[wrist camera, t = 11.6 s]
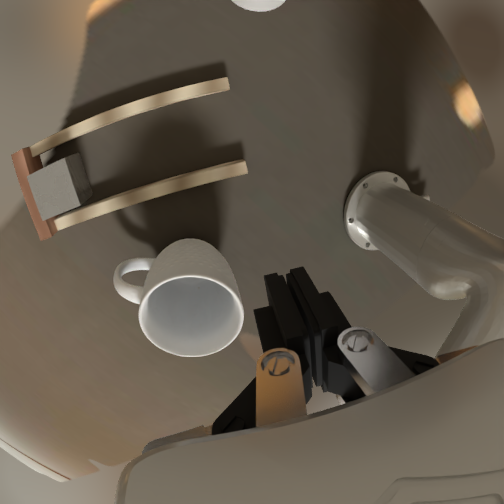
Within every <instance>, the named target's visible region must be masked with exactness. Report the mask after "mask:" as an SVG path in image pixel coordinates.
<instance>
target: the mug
mask: <svg viewBox="0 0 504 504" xmlns="http://www.w3.org/2000/svg"><path fill="white" fill-rule="evenodd" d="M134 270H149V272H148V274H147V277H146V280H145V282H144V287H142V286H135V285H130V284H128V283H126V282H124V281H123V280H122V278H121V277H122V275H123V274H125V273H127V272H130V271H134ZM113 281H114V286H115V289H116V290H117V292H118V293H119V294H120V295H121V296H122V297H124V298H125V299H127V300H129V301H131V302H134V303H137V304H140V306H139V322H140V326H141V328H142V330H143V332H144V334H145V335H146V337H147V338H148V339H149V340H150V341H151V342H152V343H153V344H154V345H156V346H157V347H159V348H160V349H162V350H164V351H166V352H168V353H171V354H174V355H178V356H186V357H197V356H205V355H209V354H213V353H215V352H218V351H220V350H222V349H223V348H225V347H226V346H228V345H229V344H230V343H231V342H232V341H233V340H234V339H235V338H236V337H237V335H238V334H239V332H240V330H241V327H242V325H243V320H244V311H243V305H242V302H241V296H240V294H239V289H238V287H237V282H236V281H235V277H234V275H233V272H232V270H231V268H230V266H229V264H228V263H227V261H226V259H225V258H224V257H223V255H222V254H220V252H219V251H218V250H216V248H215V247H213V246H212V245H211V244H209V243H207V242H205V241H202V240H200V239H194V238H192V239H188V238H186V239H181V240H178V241H176V242H174V243H172V244H170V245H169V246H167V247H166V248H165V249H164V250H162V251H161V253H160V254H159V255H158V256H157V258H133V259H129V260H126V261H123V262H122V263H120V264H119V265H118V266H117V268H116V270H115V272H114V278H113Z"/></svg>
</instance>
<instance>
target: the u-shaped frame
mask: <svg viewBox="0 0 504 504" xmlns="http://www.w3.org/2000/svg"><path fill="white" fill-rule="evenodd" d="M229 89H230V87H229V83H228V78H227V77H225V78H220V79H215V80H210V81H206V82H202V83H197V84H193V85H189V86H185V87H181V88H177V89H174V90H170V91H166V92H163V93H160V94H156V95H153V96H150V97H146V98H143V99H140V100H137V101H134V102H131V103H128V104H125V105H123V106H120V107H117V108H114V109H112V110H109V111H106V112H104V113H101V114H99V115H96V116H94V117H91V118H89V119H86V120H84V121H82V122H79V123H77V124H75V125H73V126H70V127H68V128H66V129H64V130H62V131H60V132H58V133H55V134H53V135H51V136H49V137H47V138H45V139H43V140H41V141H40V142H38V143H36V144H34V145H32V146H30V147H27V148H23V149H21V150H19V151H18V152H16V153H14V154H12V155H11V156H12V160H13V163H14V167H15V170H16V173H17V177H18V180H19V183H20V186H21V189H22V192H23V195H24V198H25V201H26V204H27V207H28V209H29V212H30V215H31V217H32V220H33V222H34V225H35V227H36V230H37V232H38V235H39V237H40V239H41V241H42V240H44V239H47V238H50V237H52V236H53V235H54V234H55V233H56V232H57V231H58V230H61V229H64V228H66V227H69V226H72V225H74V224H77V223H80V222H83V221H85V220H88V219H91V218H94V217H97V216H100V215H103V214H106V213H109V212H112V211H115V210H118V209H121V208H124V207H127V206H130V205H133V204H136V203H140V202H143V201H146V200H149V199H153V198H156V197H159V196H163V195H166V194H170V193H173V192H177V191H180V190H184V189H188V188H191V187H195V186H199V185H202V184H206V183H210V182H214V181H218V180H222V179H226V178H230V177H234V176H238V175H242V174H247V173H248V171H247V167H246V162H245V161H244V160H243V159H241V160H237V161H232V162H228V163H224V164H220V165H216V166H212V167H208V168H204V169H200V170H196V171H193V172H189V173H185V174H182V175H178V176H175V177H171V178H168V179H164V180H161V181H158V182H154V183H151V184H148V185H144V186H141V187H138V188H135V189H132V190H129V191H126V192H123V193H120V194H117V195H114V196H111V197H108V198H105V199H102V200H99V201H97V202H94V203H91V204H88V205H85V206H83V207H80V208H77V209H75V210H72V211H70V212H67V213H64V214H62V215H59V214H58V215H56V216H54V217H51V218H49V219H47V220H44V221H42V218H41V216H40V213H39V210H38V208H37V205H36V202H35V200H34V197H33V194H32V191H31V188H30V185H29V182H28V179H27V176H28V175H30V174H32V173H34V172H36V171H38V170H40V169H42V168H43V165H42V162H41V159H40V154H42V153H44V152H46V151H48V150H50V149H52V148H55V147H57V146H59V145H61V144H63V143H65V142H67V141H70V140H72V139H74V138H77V137H79V136H81V135H84V134H86V133H88V132H91V131H93V130H96V129H98V128H101V127H103V126H106V125H109V124H111V123H114V122H117V121H120V120H122V119H125V118H128V117H131V116H134V115H137V114H140V113H143V112H146V111H149V110H153V109H156V108H159V107H163V106H166V105H170V104H173V103H177V102H180V101H184V100H188V99H192V98H196V97H200V96H205V95H209V94H213V93H218V92H223V91H228V90H229Z"/></svg>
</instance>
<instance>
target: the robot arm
mask: <svg viewBox="0 0 504 504" xmlns="http://www.w3.org/2000/svg"><path fill="white" fill-rule="evenodd" d="M363 184H364V185H363ZM344 224H345V229H346V231H347V233H348V235H349V237H350V238H351V239H352V241H354V242H355V243H356V244H357V245H358V246H360V247H361V248H364V249H367V250H380V251H381V252H382V253H384V254H385V255H386V256H387V257H388V258H390V259H391V260H392V261H393V262H394V263H395V264H397V265H398V266H399V267H400V268H401V269H402V270H403V271H405V272H406V273H407V274H408V275H409V276H410V277H411V278H413V279H414V280H415V281H416V282H417V283H418V284H419V285H420V286H421V287H423V288H424V289H425V290H426V291H427V292H428V293H429V294H431V295H433V296H434V297H436V298H440V299H445V300H454V299H461V298H466V297H467V299H466V303H465V305H464V307H463V309H462V311H461V313H460V316H459V318H458V319H457V321H456V323H455V325H454V327H453V328H452V330H451V332H450V333H449V335H448V336H447V338H446V340H445V341H444V343H443V344H442V346H441V348H440V349H439V351H438V352H437V354H436V356H435V358H432V357H429V356H426V355H422V354H418V353H413V352H409V351H405V350H401V349H397V348H392V347H389V346H387V345H386V344H385V343H384V342H383V341H382V340H381V339H380V338H379V337H378V336H377V335H376V333H375V332H373V331H372V330H371V329H368V328H365V327H351V325H350V324H349V322H348V321H347V319H346V317H345V316H344V314H343V313H342V311H341V309H340V308H339V306H338V305H337V303H336V302H335V300H334V298H333V297H332V295H331V294H330V293H329V292H328V291H327V292H324V293H320V294H319V292H318V290H317V289H316V287H315V285H314V284H313V282H312V280H311V279H310V277H309V275H308V274H307V272H306V270H305V269H304V267H299V268H294V269H290V273H288V274H286V279H287V283H286V281H285V279H284V277H283V275H280V276H278V274H277V273H273V274H269V275H264V280H265V285H266V290H267V296H268V301H269V306H267V307H263V308H258V309H254V315H255V319H256V323H257V328H258V332H259V336H260V341H261V345H262V349H263V355H261V356H260V357H259V359H258V361H257V364H256V377H255V378H254V379H253V380H252V381H251V383H250V384H249V385H248V386H247V387H246V388H245V389H244V390H243V391H242V392H241V393H240V395H239V396H238V397H237V398H236V399H235V400H234V401H233V402H232V403H231V404H230V405H229V406H228V407H227V408H226V409H225V410H224V412H223V413H222V414H221V415H220V416H219V417H218V418H217V419H216V420H215V422H214V423H213V425H210V426H207V427H204V426H203V425H202V426H199V427H196V428H193V429H189V430H186V431H183V432H180V433H177V434H173V435H170V436H166V437H163V438H159V439H156V440H153V441H151V442H149V443H148V444H147V445H146V446H145V447H144V449H143V451H142V455H140V456H138V457H137V458H135V459H133V460H132V461H131V462H130V463H128V464H127V466H126V467H125V468H124V470H123V471H122V473H121V476H120V478H119V481H118V485H117V490H116V494H115V501H114V504H504V239H503V238H500V237H498V236H496V235H494V234H491V233H489V232H488V231H486V230H484V229H482V228H480V227H478V226H476V225H474V224H472V223H470V222H469V221H467V220H465V219H463V218H461V217H460V216H458V215H456V214H454V213H452V212H450V211H448V210H446V209H444V208H442V207H441V206H439V205H437V204H435V203H433V202H431V201H430V198H429V196H428V195H423V196H418V195H416V194H414V193H412V192H410V189H409V187H408V185H407V183H406V182H405V181H404V180H403V179H402V178H401V177H400V176H398V175H396V174H394V173H391V172H388V171H376V172H373V173H370V174H368V175H366V176H365V177H363V178H362V179H361V180H360V181H359V182H358V183H357V184H356V185H355V186H354V187H353V189H352V190H351V192H350V194H349V196H348V198H347V201H346V204H345V208H344ZM312 377H313V380H314V382H315V385H316V386H321V387H322V390H323V392H327V391H328V392H332V393H334V394H336V397H337V400H338V402H339V403H340V405H339V406H336V407H333V408H330V409H326V410H323V411H320V412H316V413H313V414H309V415H307V410H306V404H307V403H308V401H309V400H310V398H311V397H312V389H311V388H312V387H313V385H312V384H313V383H312Z"/></svg>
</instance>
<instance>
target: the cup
mask: <svg viewBox="0 0 504 504" xmlns="http://www.w3.org/2000/svg"><path fill="white" fill-rule="evenodd" d="M232 1H233V2H234V3H235V4H237V5H238V6H240V7H242V8H244V9H247V10H251V11H269V10H273V9H275V8H277V7H279V6H281V5H282V4H283V3H284V2H285V1H286V0H232Z"/></svg>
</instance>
